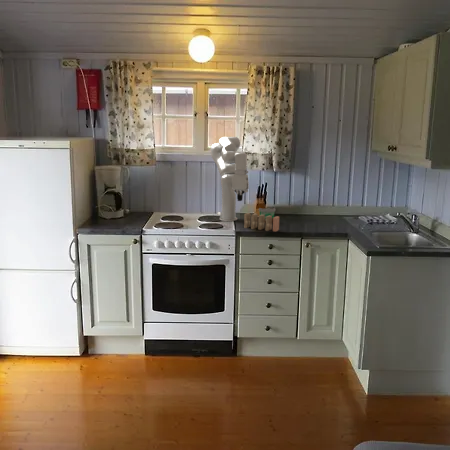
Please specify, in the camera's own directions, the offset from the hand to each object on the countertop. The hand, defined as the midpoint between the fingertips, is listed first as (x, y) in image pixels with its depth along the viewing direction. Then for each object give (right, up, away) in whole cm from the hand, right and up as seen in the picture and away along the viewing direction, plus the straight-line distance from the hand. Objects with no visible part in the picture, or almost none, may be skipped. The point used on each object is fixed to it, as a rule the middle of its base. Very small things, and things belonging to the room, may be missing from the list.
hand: (239, 200), depth 304 cm
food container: (+20, -14, +15) cm, 29 cm away
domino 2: (+9, -18, -1) cm, 20 cm away
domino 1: (+5, -17, +1) cm, 18 cm away
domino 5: (+22, -20, -8) cm, 31 cm away
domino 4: (+18, -19, -6) cm, 27 cm away
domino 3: (+14, -18, -4) cm, 23 cm away
